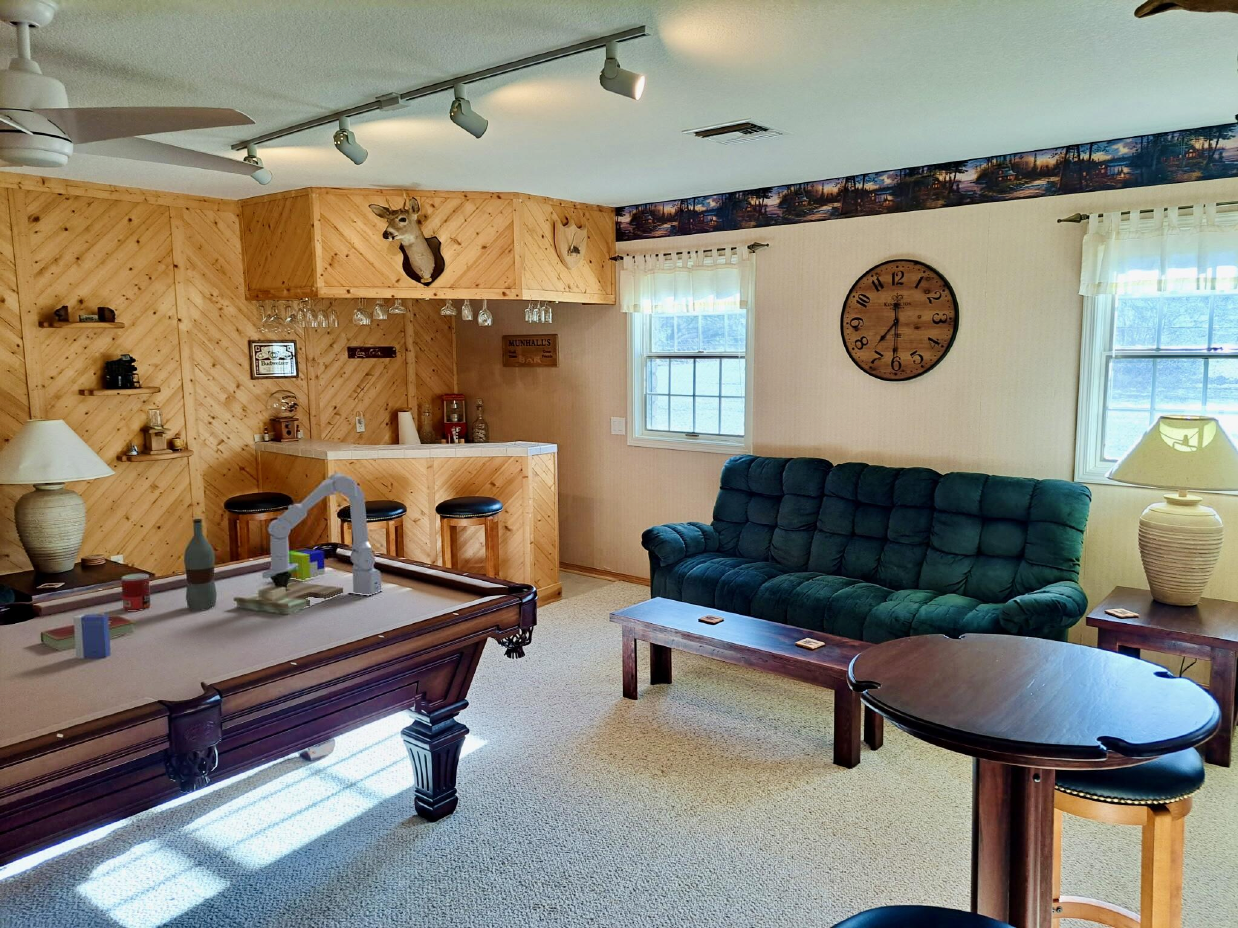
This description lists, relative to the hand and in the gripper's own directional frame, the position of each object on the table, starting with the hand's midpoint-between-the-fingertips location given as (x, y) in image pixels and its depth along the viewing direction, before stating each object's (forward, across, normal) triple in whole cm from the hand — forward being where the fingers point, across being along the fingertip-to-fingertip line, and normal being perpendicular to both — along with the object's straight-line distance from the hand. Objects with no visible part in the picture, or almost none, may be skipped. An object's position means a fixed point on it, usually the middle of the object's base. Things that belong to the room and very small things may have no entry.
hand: (281, 594), depth 289 cm
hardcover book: (+4, +50, -26) cm, 57 cm away
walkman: (+4, +61, -10) cm, 62 cm away
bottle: (+4, +13, -22) cm, 26 cm away
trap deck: (+3, -4, 0) cm, 5 cm away
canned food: (+4, +22, -41) cm, 47 cm away
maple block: (+1, +4, 0) cm, 5 cm away
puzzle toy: (+4, -33, -19) cm, 38 cm away
